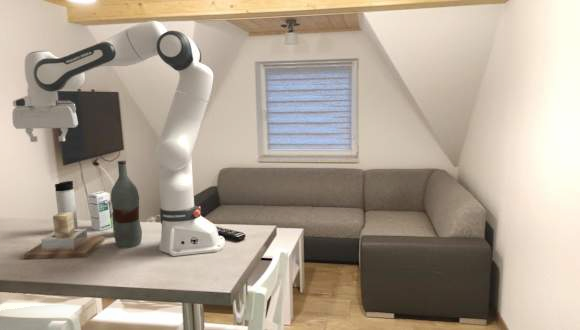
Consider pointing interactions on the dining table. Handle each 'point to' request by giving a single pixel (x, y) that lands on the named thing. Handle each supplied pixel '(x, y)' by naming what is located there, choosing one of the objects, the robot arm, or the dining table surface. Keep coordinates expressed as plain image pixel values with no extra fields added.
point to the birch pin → (63, 224)
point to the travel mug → (66, 199)
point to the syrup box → (100, 210)
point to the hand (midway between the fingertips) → (48, 141)
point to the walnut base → (78, 252)
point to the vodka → (125, 210)
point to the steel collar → (64, 241)
